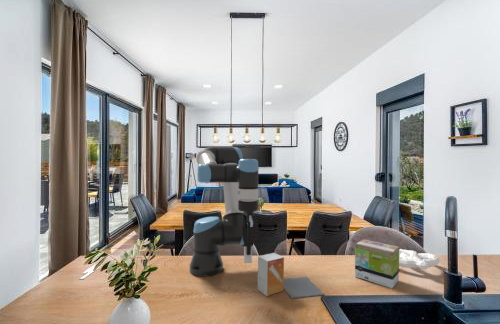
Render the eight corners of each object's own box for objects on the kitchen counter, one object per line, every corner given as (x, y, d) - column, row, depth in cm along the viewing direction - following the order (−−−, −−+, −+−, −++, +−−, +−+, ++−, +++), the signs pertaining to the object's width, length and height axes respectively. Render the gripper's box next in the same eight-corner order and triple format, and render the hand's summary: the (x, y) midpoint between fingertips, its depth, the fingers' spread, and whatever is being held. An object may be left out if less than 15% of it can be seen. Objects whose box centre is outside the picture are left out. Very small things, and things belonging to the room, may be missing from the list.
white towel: (364, 263, 131) (362, 250, 132) (391, 256, 143) (389, 244, 144) (424, 276, 107) (422, 260, 108) (450, 267, 120) (448, 252, 120)
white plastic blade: (71, 280, 108) (71, 277, 108) (92, 266, 123) (92, 263, 123) (83, 280, 108) (83, 277, 108) (103, 266, 123) (103, 263, 123)
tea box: (354, 277, 111) (354, 243, 111) (362, 270, 119) (362, 238, 119) (393, 289, 101) (393, 251, 101) (399, 281, 108) (399, 245, 109)
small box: (267, 296, 95) (267, 261, 95) (257, 289, 100) (257, 256, 100) (284, 291, 99) (284, 257, 99) (273, 284, 104) (273, 252, 105)
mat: (277, 280, 108) (277, 279, 108) (306, 277, 111) (306, 276, 111) (291, 298, 93) (291, 297, 93) (324, 295, 96) (324, 293, 96)
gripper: (235, 197, 103) (235, 257, 103) (241, 202, 91) (241, 270, 90) (253, 197, 105) (253, 255, 105) (262, 202, 92) (261, 268, 92)
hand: (247, 262), depth 98 cm, fingers closed
